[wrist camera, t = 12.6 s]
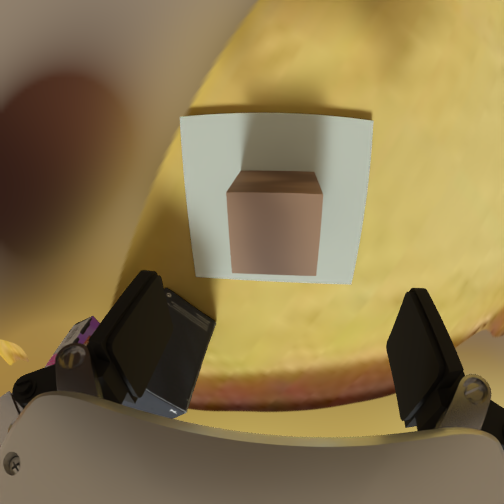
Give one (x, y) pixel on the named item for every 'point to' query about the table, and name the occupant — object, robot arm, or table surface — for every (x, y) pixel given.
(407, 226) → the table surface
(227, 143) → the mat
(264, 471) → the robot arm
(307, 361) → the table surface
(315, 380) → the table surface
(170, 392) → the small box
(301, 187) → the cube
